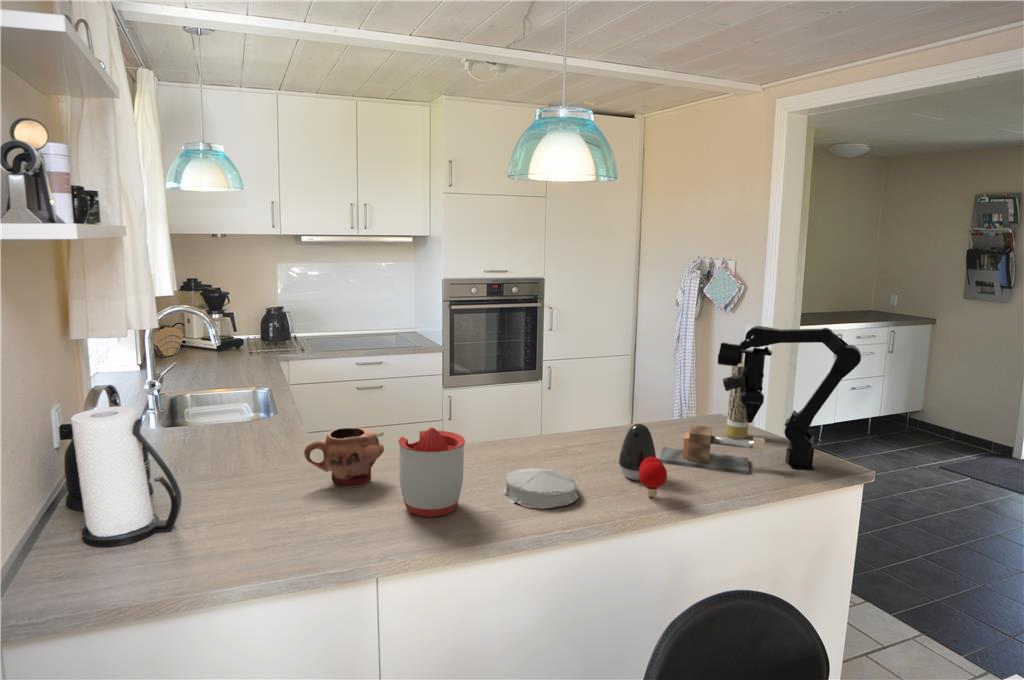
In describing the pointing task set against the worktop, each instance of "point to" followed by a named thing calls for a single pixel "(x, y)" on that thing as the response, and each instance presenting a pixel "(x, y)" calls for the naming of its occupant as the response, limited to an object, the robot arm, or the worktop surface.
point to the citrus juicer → (431, 472)
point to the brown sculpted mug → (348, 455)
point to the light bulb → (652, 475)
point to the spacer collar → (686, 446)
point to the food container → (540, 488)
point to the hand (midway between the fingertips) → (749, 418)
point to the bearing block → (704, 454)
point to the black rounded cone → (635, 450)
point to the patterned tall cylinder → (736, 410)
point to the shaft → (741, 443)
